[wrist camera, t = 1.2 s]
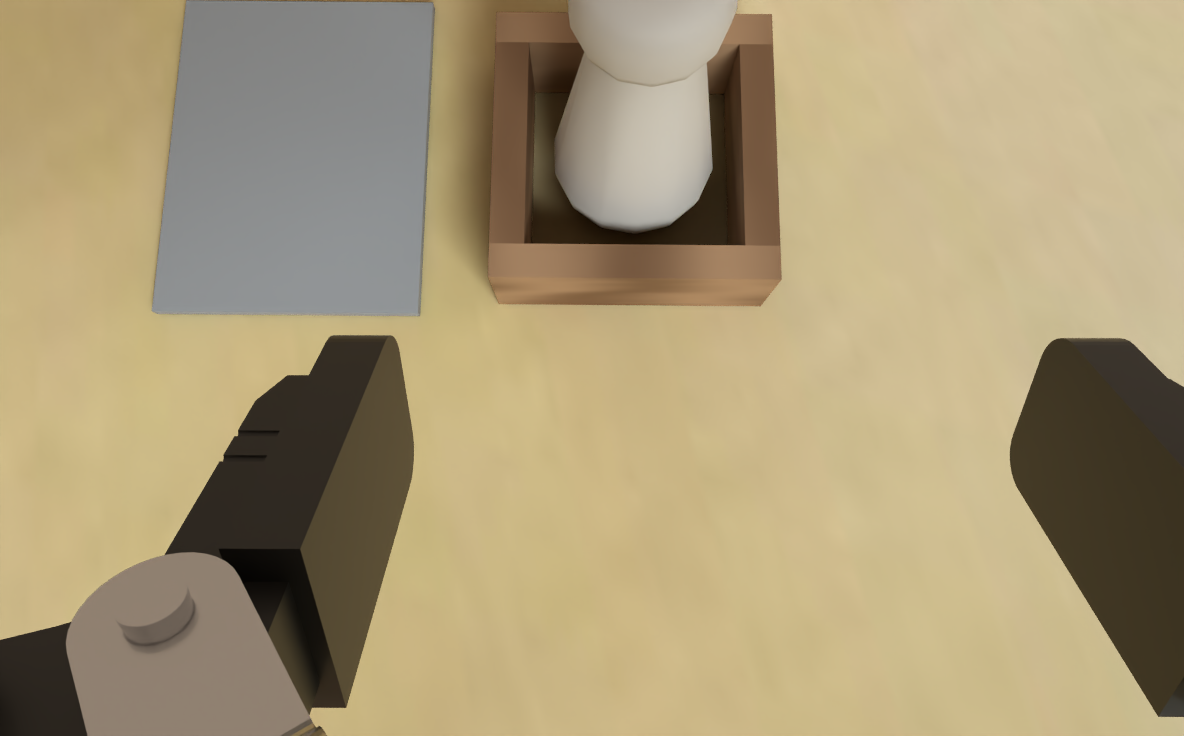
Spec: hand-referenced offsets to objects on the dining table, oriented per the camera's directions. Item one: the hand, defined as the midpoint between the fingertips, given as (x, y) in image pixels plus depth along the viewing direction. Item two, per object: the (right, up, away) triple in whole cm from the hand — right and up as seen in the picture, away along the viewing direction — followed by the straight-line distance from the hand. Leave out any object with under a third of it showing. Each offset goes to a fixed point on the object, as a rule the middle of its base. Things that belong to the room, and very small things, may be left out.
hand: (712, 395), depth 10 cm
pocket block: (0, +8, +22) cm, 23 cm away
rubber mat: (-13, +9, +22) cm, 27 cm away
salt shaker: (0, +8, +22) cm, 23 cm away
